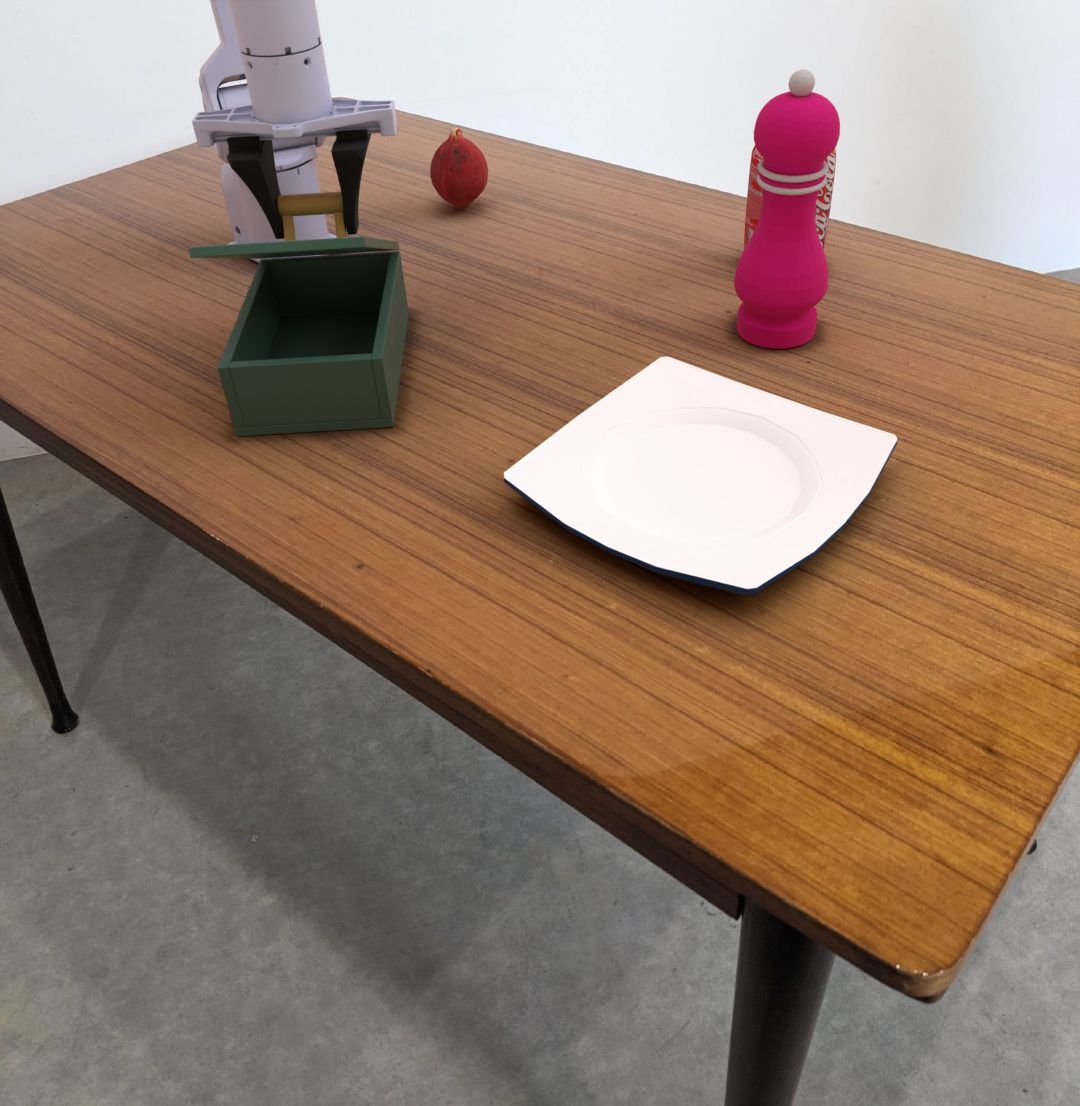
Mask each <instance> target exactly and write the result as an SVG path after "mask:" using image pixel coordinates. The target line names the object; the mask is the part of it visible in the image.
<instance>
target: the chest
mask: <svg viewBox="0 0 1080 1106" xmlns="http://www.w3.org/2000/svg"><path fill="white" fill-rule="evenodd" d="M401 255H402V254H401V251H400V250H396V251H380V252H363V253H347V254H330V255H322V256H306V257H289V258H273V259H260V262H259V263H258V265H257V267H256V269H255V272H254V275H253V277H252V280H251V281H250V284H249V287H248V289H247V292H246V294H245V297H244V299H243V303H242V305H241V308H240V309H239V311H238V314H237V317H236V319H235V323H234V324H233V327H232V330H231V332H230V335H229V338H228V340H227V343H226V345H225V348H224V349H223V352H222V355H221V357H220V361H219V362H218V365H217V372H218V376H219V379H220V383H221V386H222V391H223V393H224V397H225V399H226V403H227V406H228V407H227V408H228V411H229V413H230V417H231V421H232V424H233V427H234V431H235V435H236V437H249V436H250V437H251V436H266V435H268V436H269V435H281V434H282V435H283V434H285V435H286V434H299V433H316V432H317V433H318V432H329V431H330V432H332V431H333V432H334V431H351V430H366V429H382V428H383V429H384V428H393V427H394V426H395V420H396V419H395V418H396V412H397V405H398V398H399V389H400V382H401V375H402V369H403V360H404V353H405V346H406V338H407V330H408V323H409V316H410V312H409V311H410V310H409V307H408V306H409V304H408V297H407V291H406V285H405V284H406V283H405V277H404V270H403V263H402V256H401Z"/></svg>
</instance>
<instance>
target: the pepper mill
mask: <svg viewBox="0 0 1080 1106" xmlns="http://www.w3.org/2000/svg"><path fill="white" fill-rule="evenodd" d="M815 84H816V78H815V75H814V74H813V73H812V72H811V71H810V70H808V69H805V68H802V69H798V70H796V71H795V72H794V73H792V74H791V76H790V77H789V80H788V91H786V92H783V93H780V94H777V95H776V96H774V97H772V98H771V99H769V100H768V101H767V102H766V103H765V104H764V105H763V106H762V108H761V109H760V111H759V112H758V115H757V117H756V120H755V123H754V128H753V143H754V146H756V149H757V150H758V152H759V153H760V155H761V156H762V157H763V160H761V161H760V162H759V164H758V170H759V175H758V176H757V183H758V184H759V186H761V187H762V198H763V201H762V209H761V215H760V218H759V221H758V225H757V227H756V229H755V231H754V233H753V235H752V237H751V238H750V240H749V242H748V244H747V245H746V247H745V249H744V248H743V250H742V252H741V254H740V257H739V260H738V262H737V265H736V269H735V273H734V279H733V285H734V286H733V287H734V290H735V293H736V295H737V298H739V300H740V301H741V302H742V303H740V304H739V307H738V309H737V318H736V319H737V321H736V331H737V333H738V335H739V337H740V338H741V339H743V340H744V341H745V342H747V343H749V344H751V345H754V346H757V347H759V348H764V349H773V350H784V349H792V348H797V347H800V346H803V345H805V344H807V343H808V342H809V341H811V340H812V339H813V338H814V336H815V334H816V330H817V329H816V328H817V321H818V310H817V308H816V306H817V305H818V304H819V303H820V302H821V301H822V300H823V298H824V297H825V295H826V294H827V290H828V288H829V266H828V260H827V257H826V253H825V249H824V250H823V247H822V245H821V242H820V239H819V236H818V232H817V229H816V221H815V210H816V201H817V197H818V193H819V190H820V189H821V188H823V187H824V186H825V184H826V182H827V178H826V173H827V171H828V165H827V163H826V162H825V161H824V160H825V159H826V158H827V157H828V156H829V155H830V154H831V153H832V152H833V151H834V149H836V147H837V145H838V143H839V139H840V135H841V121H840V115H839V112H838V111H837V108H836V107H835V105H834V104H833V103H832V101H830V99H829V98H827V97H825V96H824V95H823V94H820V93H817V92H814V91H813V90H814V88H815Z"/></svg>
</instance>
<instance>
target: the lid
mask: <svg viewBox="0 0 1080 1106" xmlns="http://www.w3.org/2000/svg"><path fill="white" fill-rule="evenodd" d="M277 204H278V210H279V214H280V216H281V217H282V219H283V228H284V236H285V241H277V242H261V243H244V244H228V243H227V244H213V245H212V244H211V245H196V246H189V247H188V253H189V254H188V255H189V258H190V259H241V260H242V259H243V260H244V259H248V260H252V259H265V258H281V257H297V256H314V255H338V254H355V253H371V252H388V251H390V252H391V251H400V242H399V241H398V240H392V239H385V238H384V239H383V238H379V237H378V238H377V237H371V236H366V235H359V236H348V234H347V230H346V226H345V219H344V209H343V200H342V194H341V190H340V191H328V192H327V191H326V192H321V193H308V194H292V195H279V196H278V199H277ZM324 214H325V215H333V218H334V225H335V228H334V229H335V235H336V237H337V238H326V239H310V240H296V238H295V230H294V221H293V216H308V215H324Z"/></svg>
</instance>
